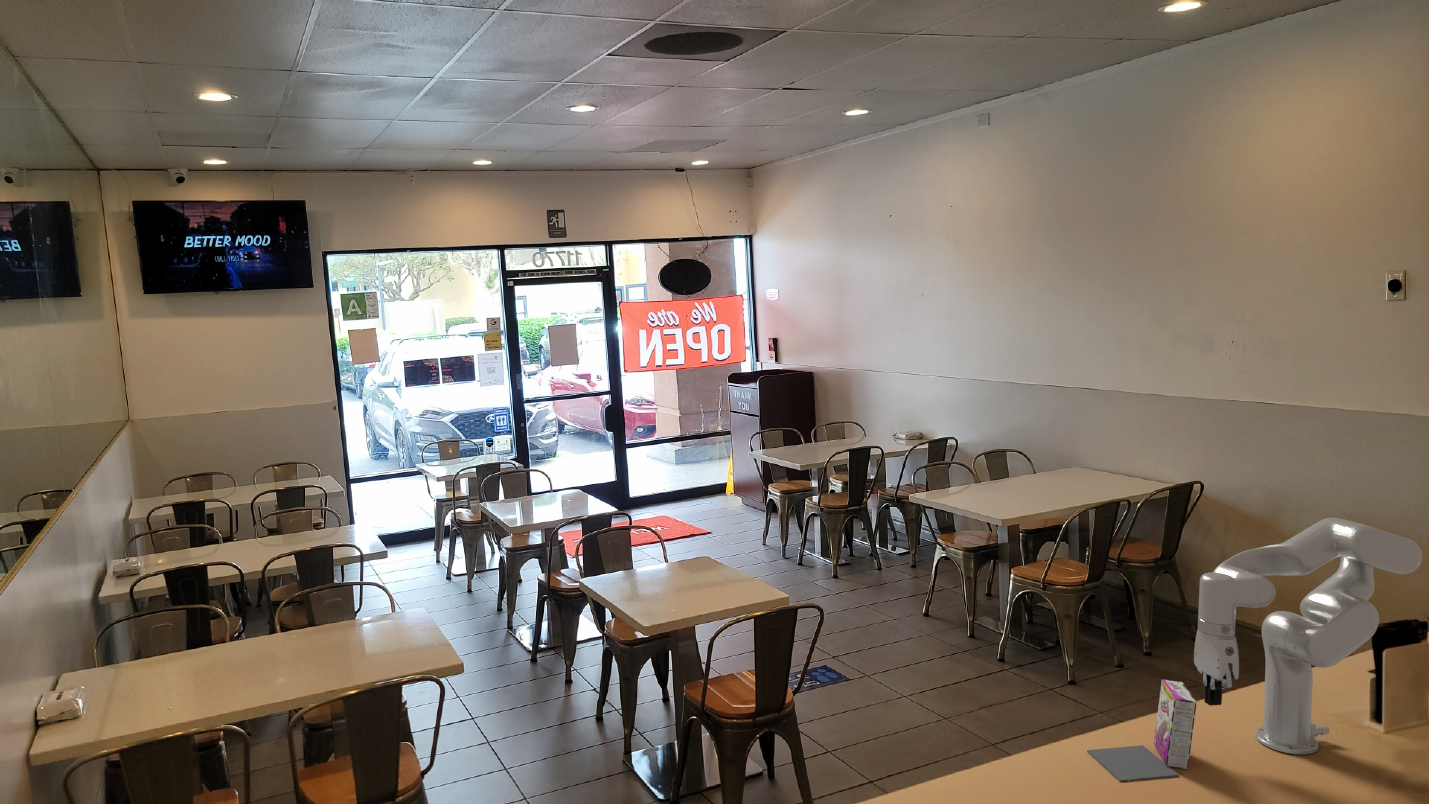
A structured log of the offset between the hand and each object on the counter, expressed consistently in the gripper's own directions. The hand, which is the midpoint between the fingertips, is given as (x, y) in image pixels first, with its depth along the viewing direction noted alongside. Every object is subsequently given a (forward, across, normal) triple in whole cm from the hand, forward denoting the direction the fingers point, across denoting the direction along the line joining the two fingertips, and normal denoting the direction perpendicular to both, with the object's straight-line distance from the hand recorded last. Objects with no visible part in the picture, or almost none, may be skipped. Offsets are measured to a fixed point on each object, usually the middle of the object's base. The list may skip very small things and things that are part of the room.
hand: (1212, 703), depth 212 cm
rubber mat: (+13, -1, +20) cm, 24 cm away
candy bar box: (+12, 0, +10) cm, 16 cm away
